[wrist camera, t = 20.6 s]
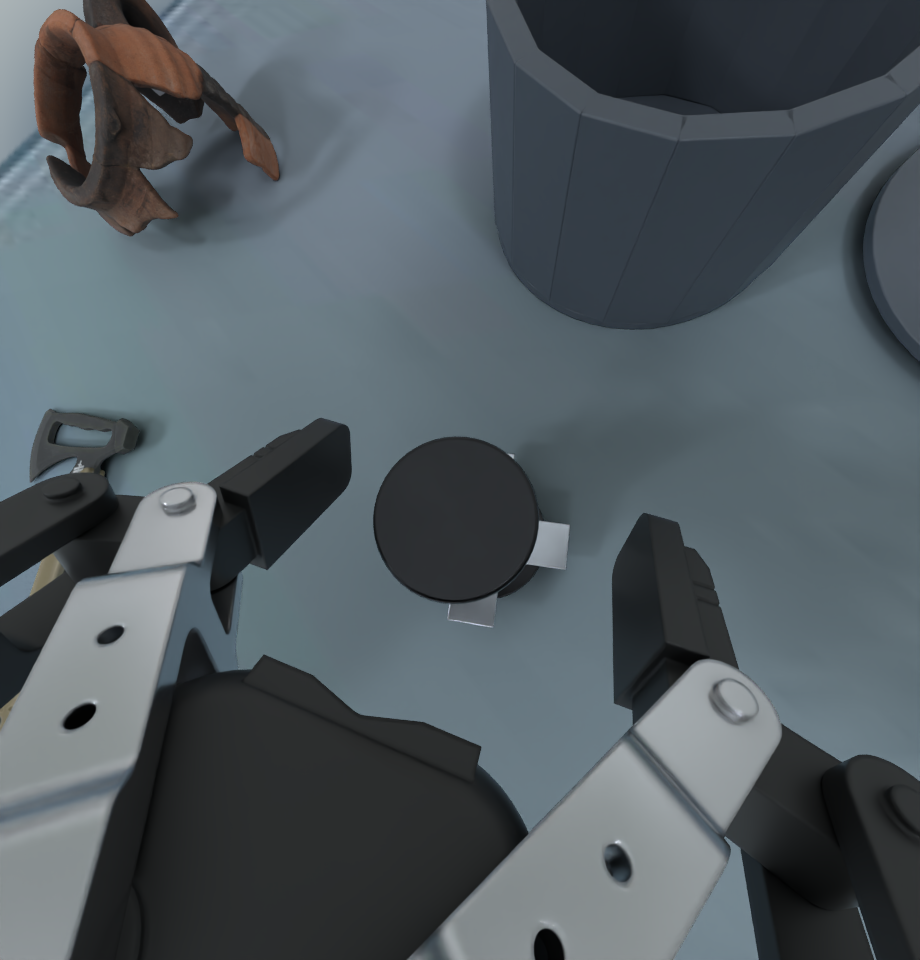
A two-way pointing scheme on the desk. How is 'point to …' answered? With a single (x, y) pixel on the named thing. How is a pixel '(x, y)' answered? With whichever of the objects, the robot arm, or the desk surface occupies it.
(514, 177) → the gray oval box
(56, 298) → the desk surface
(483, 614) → the cylinder on cross base
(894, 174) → the lid
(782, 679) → the desk surface
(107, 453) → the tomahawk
